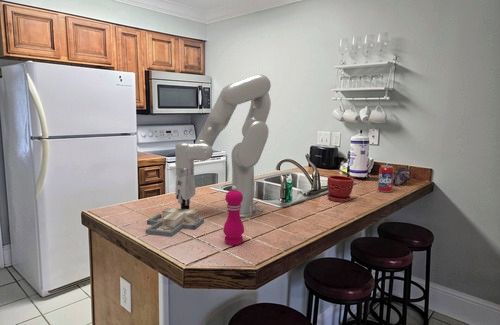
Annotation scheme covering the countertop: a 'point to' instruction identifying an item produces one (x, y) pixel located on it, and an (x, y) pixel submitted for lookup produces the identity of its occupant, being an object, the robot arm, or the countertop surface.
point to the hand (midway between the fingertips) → (185, 213)
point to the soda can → (385, 178)
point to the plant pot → (339, 188)
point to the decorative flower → (401, 176)
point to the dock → (157, 224)
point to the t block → (178, 217)
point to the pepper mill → (233, 218)
